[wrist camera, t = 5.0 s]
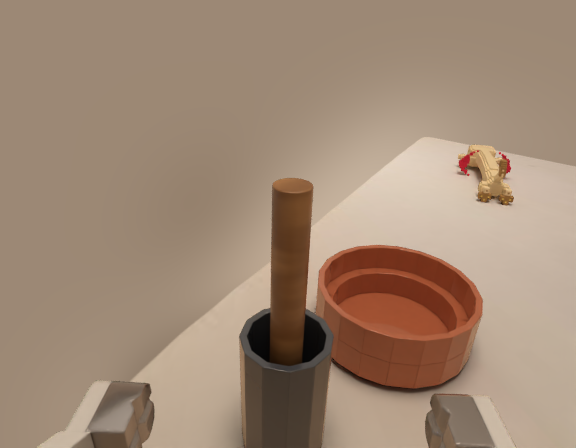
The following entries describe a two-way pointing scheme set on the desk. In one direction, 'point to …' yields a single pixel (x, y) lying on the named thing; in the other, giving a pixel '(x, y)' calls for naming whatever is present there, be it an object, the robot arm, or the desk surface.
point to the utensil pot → (284, 386)
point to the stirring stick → (289, 268)
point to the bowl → (398, 315)
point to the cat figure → (488, 172)
